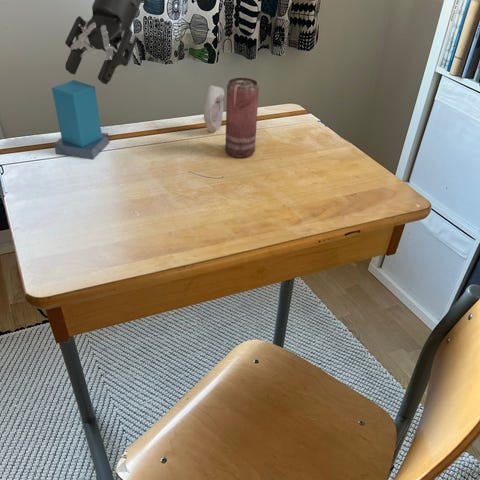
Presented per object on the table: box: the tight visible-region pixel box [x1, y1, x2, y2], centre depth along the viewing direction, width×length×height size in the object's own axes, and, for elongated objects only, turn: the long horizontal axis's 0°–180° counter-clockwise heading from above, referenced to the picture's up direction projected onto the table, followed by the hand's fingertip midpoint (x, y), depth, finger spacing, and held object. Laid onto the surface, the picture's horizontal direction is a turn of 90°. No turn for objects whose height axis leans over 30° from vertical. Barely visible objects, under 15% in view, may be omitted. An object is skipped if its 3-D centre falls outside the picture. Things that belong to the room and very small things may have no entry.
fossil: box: [203, 84, 226, 133], centre depth 110 cm, size 6×4×10 cm, turn 147°
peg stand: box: [53, 132, 110, 160], centre depth 101 cm, size 8×8×10 cm
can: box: [224, 77, 260, 159], centre depth 101 cm, size 6×6×14 cm
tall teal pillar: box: [51, 79, 103, 147], centre depth 100 cm, size 6×6×10 cm
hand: (85, 76), depth 98 cm, fingers open, 8 cm apart
